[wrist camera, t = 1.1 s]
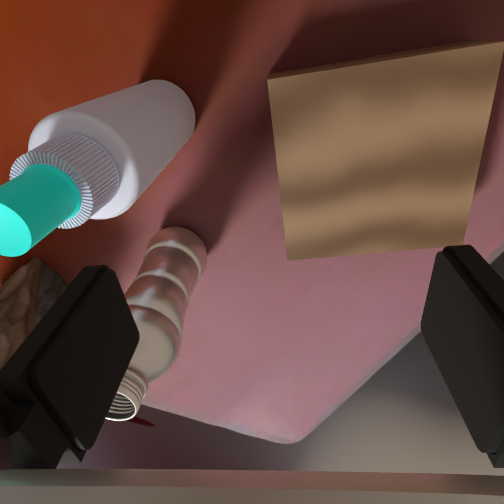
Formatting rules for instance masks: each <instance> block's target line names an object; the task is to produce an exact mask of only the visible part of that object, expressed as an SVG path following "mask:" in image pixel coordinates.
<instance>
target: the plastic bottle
mask: <svg viewBox="0 0 504 504" xmlns="http://www.w3.org/2000/svg"><path fill="white" fill-rule="evenodd" d="M206 264H207V251H206V248H205V245H204V243H203V242H202V240H201V239H200V238H199V237H198V236H197V235H196V234H195V233H193V232H192V231H190V230H188V229H185V228H181V227H168V228H164V229H162V230H161V231H159V232H158V233H157V234H156V235H155V236H154V237H153V238H152V239H151V240H150V241H149V243H148V246H147V249H146V251H145V255H144V260H143V263H142V265H141V267H140V270H139V272H138V275H137V277H136V278H135V280H134V281H133V283H132V284H131V286H130V287H129V289H128V290H127V292H126V293H125V295H124V296H125V298H126V301H127V303H128V306H129V308H130V311H131V313H132V316H133V318H134V320H135V323H136V325H137V328H138V330H139V335H140V339H139V343H138V346H137V348H136V350H135V352H134V355H133V357H132V359H131V361H130V364H129V366H128V368H127V370H126V373H125V375H124V377H123V379H122V382H121V384H120V386H119V389H118V391H117V393H116V395H115V398H114V400H113V402H112V404H111V407H110V409H109V411H108V413H107V416H106V418H105V419H109V420H115V421H124V420H129V419H131V418H133V417H134V416H135V415H136V413H137V412H138V409H139V407H140V404H141V402H142V400H143V399H144V398H145V395H146V393H147V390H148V383H150V382H152V381H154V380H155V379H157V378H159V377H160V376H161V375H163V374H164V373H166V372H167V371H168V370H169V369H170V368H171V367H172V365H173V364H174V362H175V361H176V360H177V358H178V355H179V351H180V346H181V339H182V331H183V323H184V317H185V313H186V309H187V305H188V301H189V298H190V296H191V294H192V291H193V289H194V287H195V285H196V283H197V282H198V281H199V279H200V278H201V276H202V274H203V272H204V270H205V268H206Z"/></svg>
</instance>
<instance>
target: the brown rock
mask: <svg viewBox="0 0 504 504" xmlns="http://www.w3.org/2000/svg"><path fill="white" fill-rule="evenodd" d="M68 286H69V285H68V284H66V283H65V282H64V281H63V279H62V277H61V276H60V275H59V274H58V273H57V272H55V271H54V270H53V269H51V268H49V267H48V266H47V265H46V264H44V262H43V261H41V260H40V259H39V258H37V257H36V256H33V258H32V259H31V261H30V262H29V263H27V264H25V265H22V266H21V267H19V269H18V270H17V271H16V272H15V273H14V274H13V275H12V276H11V277H10V278H9V279H8V280H7V281H6V282H5V283H4V285H3V286H2V287H1V288H0V370H1V368H2V367H3V366H4V365H5V363H6V362H7V361H8V360H9V359H10V357H11V356H12V355H13V354H14V352H15V351H16V350H17V349H18V348H19V346H20V345H21V344H22V343H23V341H24V340H25V339H26V338H27V337H28V335H29V334H30V333H31V332H32V330H33V329H34V328H35V327H36V326H37V324H38V323H39V322H40V321H41V319H42V318H43V317H44V316H45V314H46V313H47V312H48V311H49V310H50V308H51V307H52V306H53V305H54V303H55V302H56V301H57V300H58V299H59V297H60V296H61V295H62V294H63V292H64V291H65V290H66V289H67V288H68Z"/></svg>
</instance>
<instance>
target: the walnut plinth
mask: <svg viewBox="0 0 504 504" xmlns="http://www.w3.org/2000/svg"><path fill="white" fill-rule="evenodd" d="M503 52H504V41H464V42H458V43H452V44H446V45H440V46H434V47H427V48H421V49H415V50H409V51H403V52H397V53H391V54H385V55H379V56H373V57H367V58H361V59H354V60H348V61H342V62H336V63H330V64H324V65H318V66H312V67H306V68H300V69H294V70H288V71H281V72H275V73H269V75H268V79H267V83H268V92H269V101H270V109H271V118H272V127H273V136H274V144H275V153H276V162H277V171H278V180H279V188H280V197H281V206H282V215H283V223H284V232H285V241H286V250H287V258H288V260H300V259H311V258H322V257H334V256H345V255H357V254H368V253H379V252H391V251H402V250H414V249H425V248H436V247H446V246H454V245H463V241H464V237H465V232H466V227H467V222H468V218H469V213H470V208H471V203H472V199H473V194H474V189H475V184H476V180H477V175H478V170H479V165H480V161H481V156H482V151H483V146H484V142H485V137H486V132H487V128H488V123H489V118H490V113H491V109H492V104H493V99H494V94H495V90H496V85H497V80H498V75H499V71H500V66H501V61H502V56H503Z"/></svg>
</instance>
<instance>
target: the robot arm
mask: <svg viewBox="0 0 504 504" xmlns="http://www.w3.org/2000/svg"><path fill="white" fill-rule="evenodd" d="M421 331H422V334H423V337H424V339H425V341H426V343H427V345H428V347H429V349H430V351H431V353H432V355H433V357H434V359H435V362H436V364H437V366H438V368H439V370H440V372H441V374H442V376H443V378H444V380H445V382H446V384H447V386H448V388H449V391H450V392H451V394H452V397H453V399H454V401H455V403H456V405H457V407H458V409H459V411H460V413H461V415H462V417H463V419H464V421H465V424H466V426H467V428H468V430H469V432H470V434H471V436H472V438H473V440H474V442H475V444H476V446H477V448H478V449H479V450H480V451H481V452H482V453H487V455H488V457H489V459H490V461H491V463H492V465H493V467H494V468H504V280H503V279H502V278H501V277H500V276H499V275H498V274H497V273H496V272H495V270H494V269H493V268H492V267H491V266H490V265H489V264H488V263H487V262H486V261H485V260H484V258H483V257H482V256H481V255H480V254H479V253H478V252H477V251H476V250H475V249H474V248H473V247H472V246H471V245H454V246H446V247H445V248H444V249H443V251H441V252H438V253H437V255H436V258H435V262H434V267H433V271H432V276H431V280H430V284H429V289H428V293H427V298H426V302H425V306H424V311H423V315H422V320H421ZM139 339H140V335H139V330H138V328H137V325H136V323H135V320H134V318H133V316H132V313H131V311H130V308H129V306H128V303H127V301H126V298H125V296H124V293H123V291H122V289H121V286H120V284H119V281H118V279H117V276H116V274H115V272H114V271H113V270H111V269H109V267H107V266H106V265H96V266H86V267H84V268H83V269H82V270H81V272H80V273H79V274H78V275H77V276H76V278H75V279H74V280H73V281H72V283H71V284H70V285H69V286H68V288H67V289H66V290H65V291H64V292H63V294H62V295H61V296H60V297H59V299H58V300H57V301H56V302H55V303H54V305H53V306H52V307H51V308H50V310H49V311H48V312H47V313H46V314H45V316H44V317H43V318H42V319H41V321H40V322H39V323H38V324H37V326H36V327H35V328H34V329H33V330H32V332H31V333H30V334H29V335H28V337H27V338H26V339H25V340H24V341H23V343H22V344H21V345H20V346H19V348H18V349H17V350H16V351H15V352H14V354H13V355H12V356H11V357H10V359H9V360H8V361H7V362H6V363H5V365H4V366H3V367H2V368H1V370H0V504H504V476H491V475H464V474H431V473H377V472H375V473H374V472H372V473H371V472H323V471H256V470H255V471H254V470H253V471H251V470H177V469H176V470H175V469H172V470H171V469H56V467H57V465H58V463H59V461H61V462H62V463H81V462H82V459H83V457H84V455H85V453H86V450H89V449H90V448H91V447H92V446H93V445H94V442H95V441H96V438H97V436H98V433H99V432H100V429H101V427H102V425H103V422H104V420H105V418H106V416H107V413H108V411H109V409H110V407H111V404H112V402H113V400H114V398H115V395H116V393H117V391H118V389H119V386H120V384H121V382H122V379H123V377H124V375H125V373H126V370H127V368H128V366H129V364H130V361H131V359H132V357H133V355H134V352H135V350H136V348H137V346H138V343H139Z"/></svg>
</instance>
